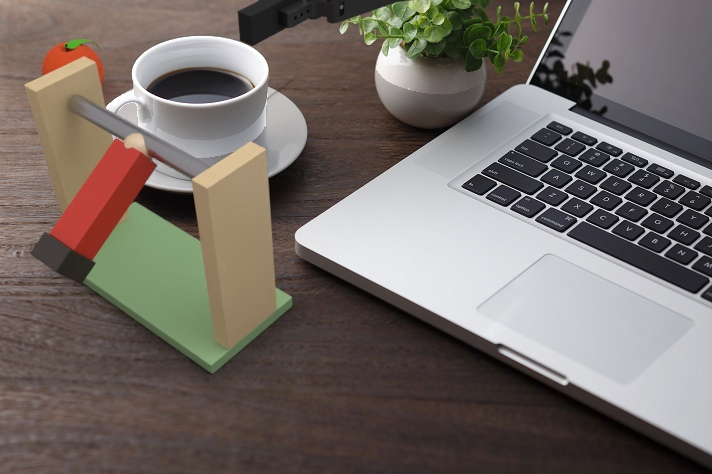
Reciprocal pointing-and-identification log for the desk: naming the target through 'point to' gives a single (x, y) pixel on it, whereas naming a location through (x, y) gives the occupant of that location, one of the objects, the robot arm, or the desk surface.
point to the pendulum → (107, 190)
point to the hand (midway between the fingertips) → (245, 28)
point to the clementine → (70, 56)
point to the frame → (171, 234)
